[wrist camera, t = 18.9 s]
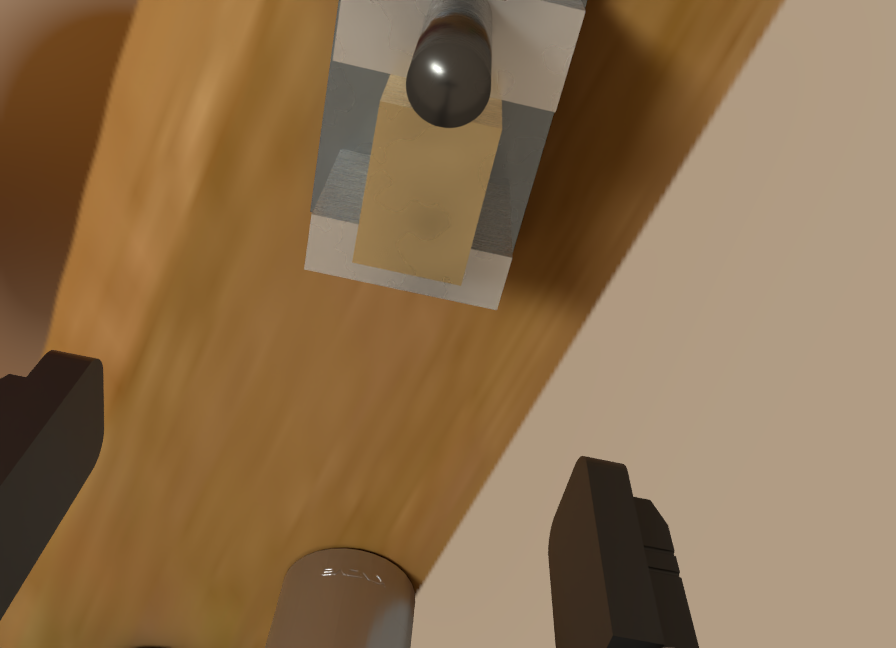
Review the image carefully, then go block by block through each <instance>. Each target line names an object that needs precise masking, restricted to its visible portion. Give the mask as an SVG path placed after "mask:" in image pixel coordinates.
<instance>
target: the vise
mask: <svg viewBox="0 0 896 648" xmlns="http://www.w3.org/2000/svg"><path fill="white" fill-rule="evenodd" d="M581 1H582V4H583V6H584V9H585V7H586V3H587V0H581ZM340 3H341V0H339V3H338V10H337V18H336V25H335V33H334V40H333V47H332V55H331V62H330V70H329V77H328V84H327V92H326V99H325V107H324V114H323V121H322V129H321V136H320V144H319V151H318V159H317V166H316V173H315V181H314V188H313V196H312V203H311V210H310V212H312V216H311V223H310V230H309V238H308V245H307V252H306V260H305V267H304V269H305V270H310V271H315V272H320V273H324V274H329V275H334V276H338V277H343V278H348V279H352V280H357V281H362V282H367V283H371V284H376V285H381V286H385V287H390V288H395V289H400V290H404V291H409V292H414V293H418V294H423V295H428V296H432V297H437V298H442V299H447V300H451V301H456V302H461V303H465V304H470V305H475V306H479V307H484V308H489V309H494V310H497V308H498V305H499V301H500V298H501V295H502V291H503V288H504V284H505V281H506V278H507V274H508V271H509V268H510V264H511V261H512V253H513V250H514V246H515V243H516V240H517V236H518V233H519V230H520V226H521V223H522V219H523V216H524V213H525V209H526V206H527V203H528V199H529V196H530V192H531V189H532V186H533V182H534V179H535V176H536V172H537V169H538V165H539V162H540V159H541V155H542V152H543V148H544V145H545V142H546V138H547V135H548V132H549V128H550V125H551V121H552V118H553V115H554V112H552V111H547V110H543V109H539V108H535V107H530V106H526V105H522V104H517V103H513V102H509V101H504V100H502V132H501V136H500V140H499V143H498V147H497V151H496V155H495V159H494V162H493V166H492V170H491V174H490V178H489V181H488V185H487V189H486V193H485V197H484V200H483V204H482V208H481V212H480V216H479V220H478V223H477V227H476V231H475V235H474V239H473V242H472V246H471V250H470V254H469V258H468V261H467V265H466V269H465V273H464V277H463V280H462V284H461V286H459V285H454V284H450V283H445V282H440V281H436V280H431V279H426V278H422V277H417V276H412V275H408V274H403V273H398V272H394V271H389V270H384V269H380V268H375V267H370V266H366V265H361V264H356V263H352V260H353V254H354V248H355V242H356V237H357V231H358V225H359V219H360V213H361V208H362V202H363V196H364V190H365V185H366V179H367V173H368V167H369V161H370V156H371V150H372V144H373V138H374V133H375V127H376V121H377V115H378V109H379V104H380V100H381V97H382V94H383V92H384V89H385V87H386V84H387V82H388V79H389V76H390V74H388V73H384V72H380V71H375V70H371V69H367V68H362V67H358V66H354V65H349V64H345V63H341V62H336V61H333V54H334V47H335V40H336V32H337V25H338V18H339V10H340Z"/></svg>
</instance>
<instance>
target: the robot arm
mask: <svg viewBox="0 0 896 648" xmlns="http://www.w3.org/2000/svg"><path fill="white" fill-rule="evenodd" d="M103 436H104V394H103V365H102V362H101V361H100V360H99V359H96V358H91V357H86V356H81V355H76V354H71V353H66V352H61V351H56V350H51V351H49V352H48V353H46V354H45V355H44V357H43V358H42V359H41V360H40V361H39V363H38V364H37V365H36V366H35V367H34V369H33V370H32V371H31V372H30V373H29V375H28V376H27V377H22V376H17V375H12V374H8V375H7V376H5V377H3V378H1V379H0V620H1V618H2V617H3V615H4V614H5V612H6V610H7V609H8V607H9V605H10V604H11V602H12V601H13V599H14V597H15V596H16V594H17V592H18V591H19V589H20V587H21V586H22V584H23V583H24V581H25V579H26V578H27V576H28V574H29V573H30V571H31V569H32V568H33V566H34V565H35V563H36V561H37V560H38V558H39V556H40V555H41V553H42V551H43V550H44V548H45V547H46V545H47V543H48V542H49V540H50V538H51V537H52V535H53V534H54V532H55V530H56V529H57V527H58V525H59V524H60V522H61V520H62V519H63V517H64V516H65V514H66V512H67V511H68V509H69V507H70V506H71V504H72V502H73V501H74V499H75V498H76V496H77V494H78V493H79V491H80V489H81V488H82V486H83V484H84V483H85V481H86V480H87V478H88V476H89V475H90V473H91V471H92V470H93V468H94V466H95V464H96V462H97V459H98V457H99V454H100V450H101V447H102V442H103ZM548 550H549V551H548V556H549V568H550V581H551V594H552V606H553V618H554V631H555V643H556V648H699V646H698V642H697V638H696V634H695V630H694V626H693V622H692V618H691V614H690V610H689V606H688V602H687V599H686V595H685V590H684V587H683V583H682V579H681V578H680V577H679V573H680V571H679V567H678V563H677V559H676V556H674V547H673V543H672V539H671V535H670V531H669V528H668V525H667V523H666V522H665V520H664V519H663V517H662V516H661V515H660V513H659V512H658V510H657V509H656V508H655V506H654V505H653V503H652V502H651V501H650V500H647V499H642V498H637V497H633V494H632V489H631V484H630V480H629V475H628V471H627V468H626V466H625V465H624V464H620V463H615V462H610V461H605V460H600V459H595V458H590V457H585V456H581V457H580V458H579V459H578V460H577V462H576V464H575V467H574V469H573V472H572V474H571V477H570V479H569V482H568V484H567V487H566V489H565V492H564V494H563V497H562V499H561V502H560V504H559V507H558V509H557V512H556V514H555V517H554V520H553V523H552V526H551V531H550V537H549V547H548ZM414 607H415V592H414V589H413V586H412V583H411V582H410V580H409V579H408V577H407V576H406V574H405V573H404V572H403V571H402V570H401V569H399V568H398V567H397V566H396V565H394V564H393V563H391V562H390V561H388V560H387V559H384V558H382V557H380V556H377V555H375V554H372V553H369V552H365V551H361V550H355V549H346V548H341V549H327V550H322V551H317V552H314V553H312V554H309V555H306V556H304V557H303V558H301V559H300V560H298V561H297V562H295V563H294V564H293V565H292V566H291V568H290V569H289V570H288V572H287V574H286V576H285V578H284V581H283V585H282V589H281V592H280V596H279V600H278V603H277V607H276V611H275V614H274V618H273V622H272V625H271V628H270V632H269V635H268V639H267V643H266V646H265V648H410V646H411V635H412V625H413V617H414Z"/></svg>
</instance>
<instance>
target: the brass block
mask: <svg viewBox="0 0 896 648" xmlns="http://www.w3.org/2000/svg"><path fill="white" fill-rule="evenodd" d="M501 132H502V100H500V99H496V98H491V97H490V98H489V101H488V103H487V105H486V107H485V109H484V110H483V112H482V113H481V114H480V115H479V116H478V117H477V118H476V119H475V120H473V121H472V122H470V123H468V124H466V125H464V126H461V127H456V128H442V127H438V126H434V125H432V124H430V123H428V122H426V121H425V120H423V119H422V118H421V117H420V116H419V115H418V114H417V113H416V112H415V111H414V109H413V108H412V106H411V104H410V102H409V100H408V97H407V92H406V78H405V77H401V76H397V75H392V74H390V76H389V79H388V82H387V84H386V87H385V89H384V92H383V94H382V97H381V100H380V104H379V109H378V115H377V121H376V127H375V133H374V138H373V144H372V150H371V156H370V161H369V167H368V173H367V179H366V185H365V190H364V196H363V202H362V208H361V213H360V219H359V225H358V231H357V237H356V242H355V248H354V254H353V260H352V263H356V264H361V265H366V266H370V267H375V268H380V269H384V270H389V271H394V272H398V273H403V274H408V275H412V276H417V277H422V278H426V279H431V280H436V281H440V282H445V283H450V284H454V285H459V286H461V284H462V280H463V277H464V273H465V269H466V265H467V261H468V258H469V254H470V250H471V246H472V242H473V239H474V235H475V231H476V227H477V223H478V220H479V216H480V212H481V208H482V204H483V200H484V197H485V193H486V189H487V185H488V181H489V178H490V174H491V170H492V166H493V162H494V159H495V155H496V151H497V147H498V143H499V140H500V136H501Z"/></svg>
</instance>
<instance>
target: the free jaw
mask: <svg viewBox="0 0 896 648" xmlns="http://www.w3.org/2000/svg"><path fill="white" fill-rule="evenodd" d="M585 12H586V11H585V9H584V6H583V4H582V1H581V0H341V3H340V10H339V18H338V25H337V32H336V40H335V47H334V54H333V61H336V62H341V63H345V64H349V65H354V66H358V67H362V68H367V69H371V70H375V71H380V72H384V73H388V74H392V75H397V76H401V77H405V78H406V92H407V97H408V100H409V102H410V104H411V106H412V108H413V109H414V111H415V112H416V113H417V114H418V115H419V116H420V117H421V118H422V119H423V120H425V121H426V122H428V123H430V124H432V125H434V126H438V127H442V128H456V127H461V126H464V125H466V124H468V123H470V122H472V121H473V120H475V119H476V118H477V117H478V116H479V115H480V114H481V113H482V112H483V110H484V109H485V107H486V105H487V103H488V101H489V98H490V97H491V98H496V99H500V100H504V101H509V102H513V103H517V104H522V105H526V106H530V107H535V108H539V109H543V110H547V111H552V112H556V109H557V106H558V103H559V99H560V96H561V93H562V89H563V86H564V82H565V79H566V76H567V72H568V69H569V66H570V62H571V59H572V56H573V52H574V49H575V45H576V42H577V39H578V35H579V32H580V29H581V25H582V22H583V18H584V15H585Z"/></svg>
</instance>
